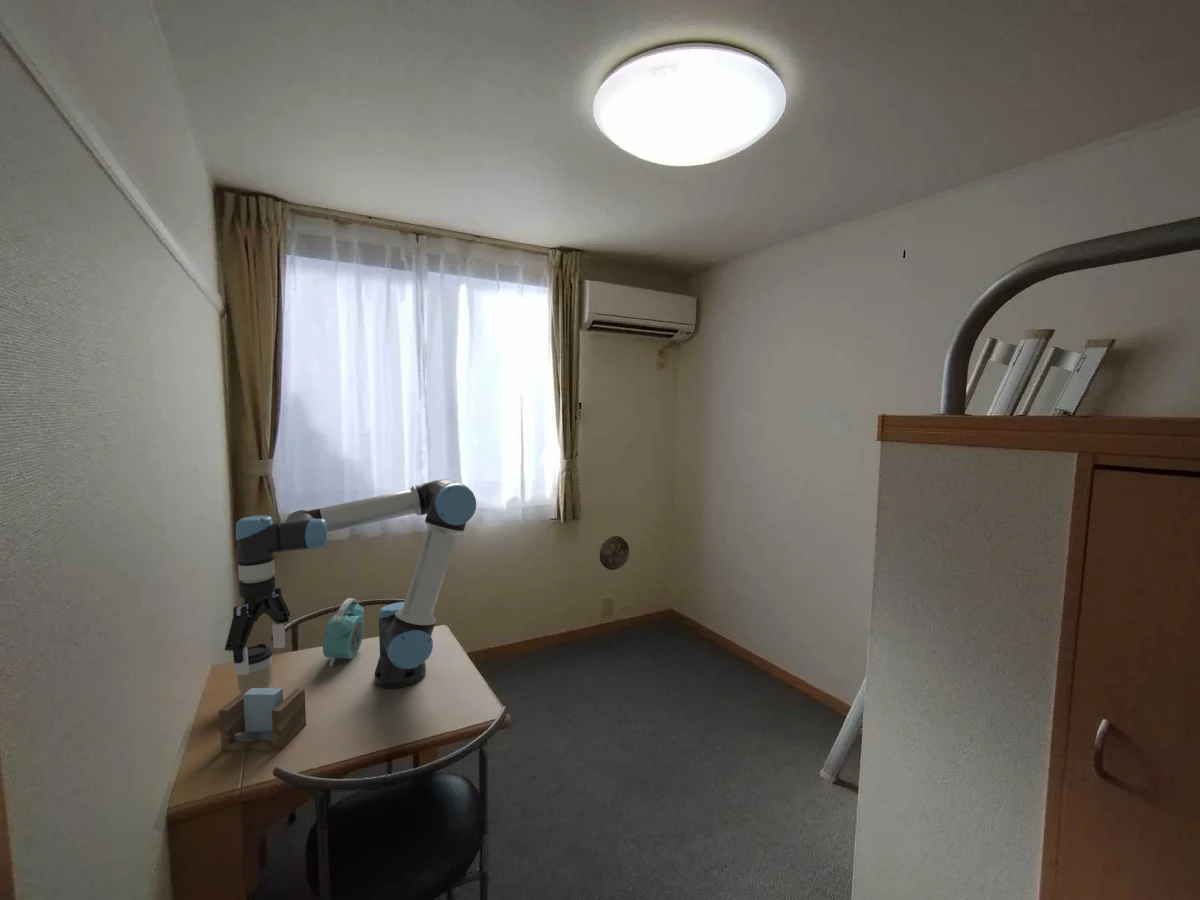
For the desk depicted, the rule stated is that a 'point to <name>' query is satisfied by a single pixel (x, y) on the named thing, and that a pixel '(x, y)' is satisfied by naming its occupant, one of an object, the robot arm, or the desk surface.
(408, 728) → the desk surface
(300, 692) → the frame
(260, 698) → the door panel
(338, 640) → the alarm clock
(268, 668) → the coffee cup
